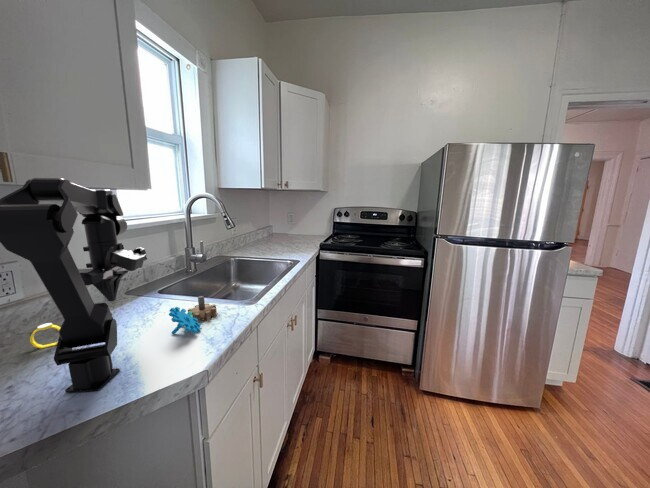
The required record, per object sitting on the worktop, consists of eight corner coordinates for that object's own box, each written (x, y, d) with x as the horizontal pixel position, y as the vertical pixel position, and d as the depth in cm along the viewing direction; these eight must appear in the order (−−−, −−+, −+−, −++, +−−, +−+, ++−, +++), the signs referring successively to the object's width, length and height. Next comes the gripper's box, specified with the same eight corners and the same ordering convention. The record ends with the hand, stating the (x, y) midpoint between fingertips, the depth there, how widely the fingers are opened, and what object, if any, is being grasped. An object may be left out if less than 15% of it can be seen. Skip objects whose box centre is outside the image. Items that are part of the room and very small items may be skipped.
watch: (32, 353, 67) (25, 331, 65) (36, 348, 69) (28, 327, 68) (64, 343, 70) (58, 323, 69) (67, 339, 72) (60, 319, 71)
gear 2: (211, 321, 82) (209, 301, 81) (183, 322, 81) (180, 302, 80) (220, 309, 90) (219, 291, 89) (194, 310, 90) (192, 292, 89)
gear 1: (197, 334, 71) (166, 311, 70) (181, 351, 71) (150, 328, 69) (207, 321, 82) (180, 300, 80) (193, 335, 82) (166, 315, 80)
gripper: (109, 247, 57) (119, 315, 59) (157, 235, 75) (163, 287, 78) (53, 248, 56) (67, 317, 59) (116, 235, 74) (124, 288, 77)
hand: (112, 300), depth 68 cm, fingers closed
